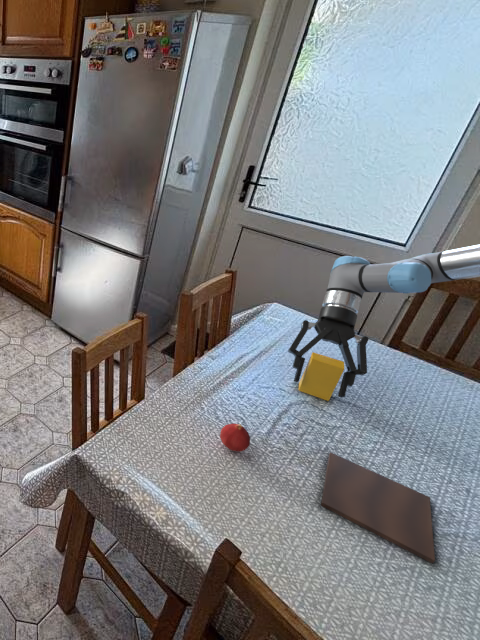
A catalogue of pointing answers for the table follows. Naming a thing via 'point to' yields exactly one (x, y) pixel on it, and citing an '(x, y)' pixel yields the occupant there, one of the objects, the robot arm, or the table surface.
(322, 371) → the block
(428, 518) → the board
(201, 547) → the table surface
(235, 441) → the red round piece
